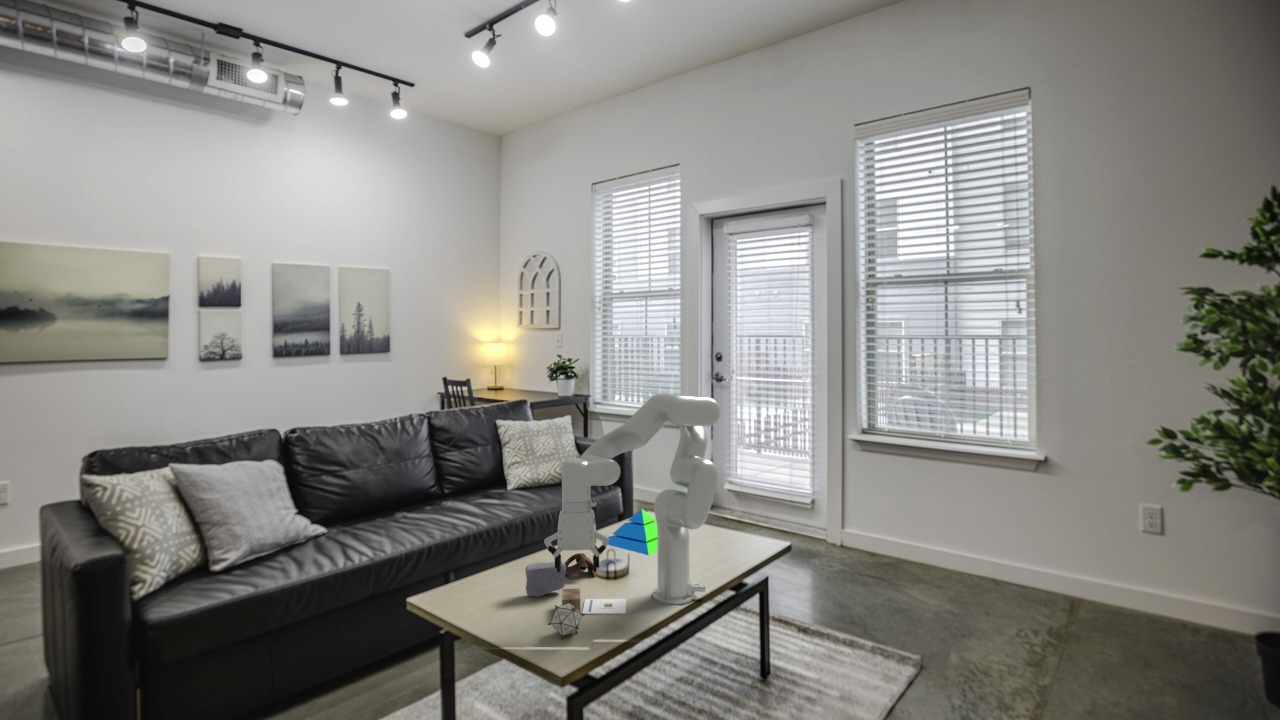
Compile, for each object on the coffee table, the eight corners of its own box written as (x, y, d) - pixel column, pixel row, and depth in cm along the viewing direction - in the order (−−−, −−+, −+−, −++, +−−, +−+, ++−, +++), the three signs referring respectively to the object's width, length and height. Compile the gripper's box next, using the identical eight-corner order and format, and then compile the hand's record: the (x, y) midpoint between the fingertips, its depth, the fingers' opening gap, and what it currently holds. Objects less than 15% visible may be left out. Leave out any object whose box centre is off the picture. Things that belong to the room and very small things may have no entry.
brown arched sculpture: (598, 582, 197) (586, 561, 196) (571, 594, 198) (559, 574, 196) (598, 561, 209) (587, 541, 207) (573, 573, 210) (561, 554, 208)
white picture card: (626, 599, 183) (626, 598, 183) (625, 614, 173) (625, 612, 173) (585, 600, 183) (585, 598, 183) (582, 614, 173) (582, 612, 173)
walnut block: (579, 588, 179) (580, 599, 171) (579, 605, 179) (580, 617, 171) (562, 589, 178) (561, 599, 171) (562, 606, 179) (561, 618, 171)
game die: (552, 622, 166) (537, 632, 156) (564, 592, 166) (550, 599, 157) (581, 638, 163) (568, 648, 154) (593, 607, 164) (581, 615, 154)
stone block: (526, 601, 182) (525, 567, 182) (524, 595, 186) (524, 562, 186) (566, 597, 185) (566, 563, 185) (564, 591, 189) (564, 558, 189)
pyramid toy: (595, 548, 234) (595, 510, 234) (635, 533, 254) (635, 497, 254) (649, 561, 219) (649, 520, 219) (687, 543, 239) (687, 506, 239)
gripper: (609, 502, 170) (610, 565, 171) (545, 503, 170) (546, 566, 170) (608, 509, 163) (609, 575, 163) (541, 510, 163) (542, 575, 163)
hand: (577, 570), depth 167 cm, fingers open, 9 cm apart
